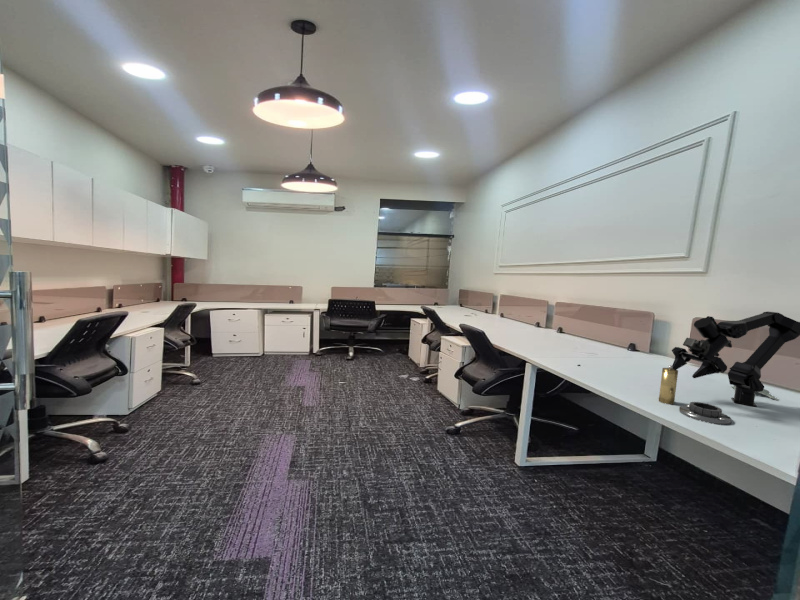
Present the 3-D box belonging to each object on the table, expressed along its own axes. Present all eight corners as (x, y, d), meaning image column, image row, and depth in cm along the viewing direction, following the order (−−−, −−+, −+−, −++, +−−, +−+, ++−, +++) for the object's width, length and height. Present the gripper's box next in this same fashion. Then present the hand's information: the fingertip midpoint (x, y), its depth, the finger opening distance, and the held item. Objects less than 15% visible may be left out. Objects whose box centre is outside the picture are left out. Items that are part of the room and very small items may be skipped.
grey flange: (677, 405, 134) (678, 396, 134) (727, 415, 126) (728, 405, 126) (680, 416, 123) (681, 406, 123) (735, 428, 115) (736, 418, 115)
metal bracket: (742, 382, 151) (731, 373, 164) (735, 393, 152) (725, 384, 165) (786, 398, 144) (771, 388, 157) (778, 410, 146) (764, 400, 159)
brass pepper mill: (658, 398, 140) (662, 363, 139) (673, 402, 138) (678, 365, 136) (658, 402, 136) (663, 365, 135) (674, 405, 134) (679, 368, 132)
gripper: (678, 327, 145) (650, 353, 145) (724, 336, 127) (693, 365, 126) (693, 346, 147) (666, 372, 146) (741, 358, 128) (709, 387, 128)
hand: (682, 373), depth 137 cm, fingers open, 9 cm apart
